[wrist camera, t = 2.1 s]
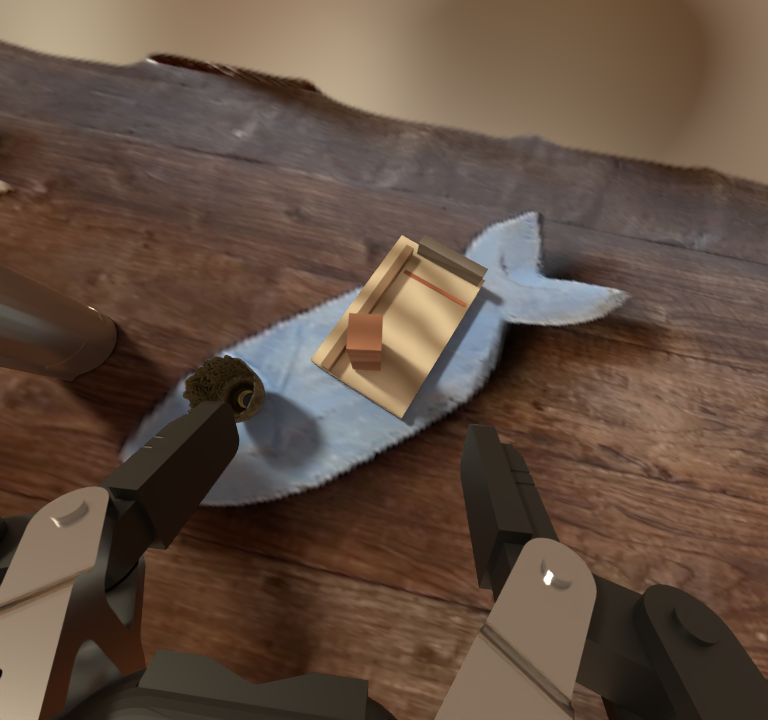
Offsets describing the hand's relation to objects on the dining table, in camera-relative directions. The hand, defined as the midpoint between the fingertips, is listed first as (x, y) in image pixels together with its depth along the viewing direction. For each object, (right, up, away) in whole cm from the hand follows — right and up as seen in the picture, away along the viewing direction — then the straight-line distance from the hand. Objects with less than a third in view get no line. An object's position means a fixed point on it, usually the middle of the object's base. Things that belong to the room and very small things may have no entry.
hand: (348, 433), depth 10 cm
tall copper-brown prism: (-1, +3, +29) cm, 30 cm away
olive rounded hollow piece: (-16, -3, +29) cm, 34 cm away
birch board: (+4, +8, +32) cm, 34 cm away
